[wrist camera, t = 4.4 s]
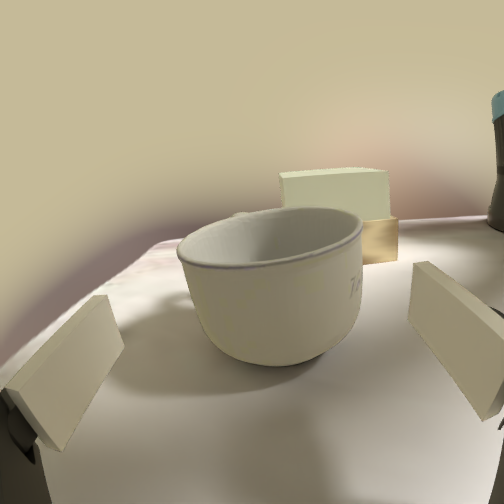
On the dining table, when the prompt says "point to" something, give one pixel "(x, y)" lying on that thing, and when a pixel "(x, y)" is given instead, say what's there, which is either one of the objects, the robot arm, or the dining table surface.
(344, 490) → the dining table surface
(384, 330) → the dining table surface
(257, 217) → the teacup
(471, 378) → the robot arm
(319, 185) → the tower top
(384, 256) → the tower base
